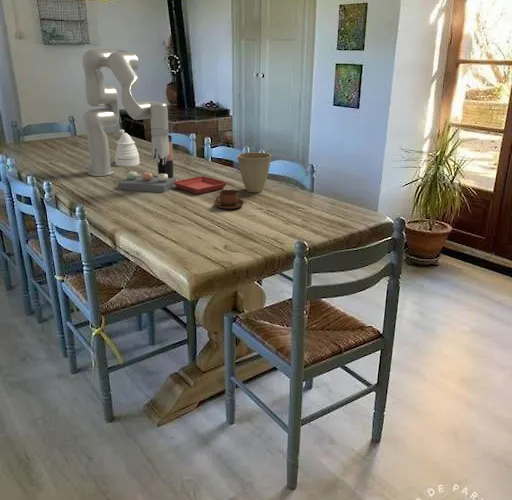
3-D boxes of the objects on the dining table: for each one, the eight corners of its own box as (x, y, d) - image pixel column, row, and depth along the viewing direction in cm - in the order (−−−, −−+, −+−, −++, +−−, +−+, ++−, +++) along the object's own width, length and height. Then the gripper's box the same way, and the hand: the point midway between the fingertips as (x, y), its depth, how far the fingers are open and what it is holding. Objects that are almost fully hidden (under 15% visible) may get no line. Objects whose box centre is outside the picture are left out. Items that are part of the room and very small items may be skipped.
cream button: (156, 180, 234) (155, 175, 233) (160, 178, 238) (159, 173, 237) (165, 181, 233) (165, 176, 232) (169, 178, 237) (169, 174, 236)
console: (119, 189, 234) (118, 182, 233) (132, 181, 247) (132, 175, 246) (164, 192, 230) (164, 185, 229) (176, 184, 242) (175, 178, 241)
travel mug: (170, 179, 252) (168, 137, 245) (155, 178, 254) (153, 137, 246) (176, 175, 259) (174, 135, 252) (161, 174, 260) (159, 134, 253)
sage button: (125, 178, 237) (125, 173, 236) (130, 176, 241) (129, 171, 240) (134, 179, 236) (134, 174, 235) (139, 176, 240) (138, 172, 239)
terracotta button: (140, 179, 235) (140, 174, 234) (145, 177, 239) (144, 172, 239) (150, 180, 234) (149, 175, 233) (154, 177, 238) (153, 173, 238)
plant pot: (274, 187, 239) (275, 153, 233) (264, 196, 226) (265, 159, 220) (244, 184, 243) (244, 151, 237) (232, 192, 230) (232, 157, 224)
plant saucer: (203, 182, 249) (202, 175, 248) (228, 189, 237) (228, 182, 236) (172, 188, 237) (172, 181, 236) (197, 196, 225) (197, 189, 224)
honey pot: (110, 164, 281) (107, 131, 274) (124, 160, 292) (122, 127, 285) (130, 167, 276) (127, 132, 269) (144, 162, 287) (141, 129, 281)
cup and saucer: (232, 213, 203) (232, 197, 201) (208, 208, 209) (207, 193, 207) (249, 205, 213) (249, 191, 210) (225, 201, 219) (225, 186, 216)
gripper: (158, 129, 235) (161, 169, 242) (144, 134, 221) (148, 176, 228) (174, 129, 233) (176, 169, 240) (161, 134, 220) (163, 177, 227)
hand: (162, 172), depth 234 cm, fingers closed
